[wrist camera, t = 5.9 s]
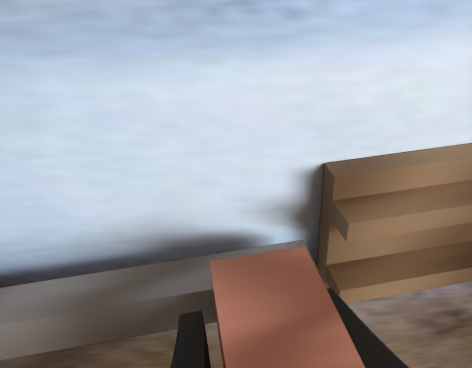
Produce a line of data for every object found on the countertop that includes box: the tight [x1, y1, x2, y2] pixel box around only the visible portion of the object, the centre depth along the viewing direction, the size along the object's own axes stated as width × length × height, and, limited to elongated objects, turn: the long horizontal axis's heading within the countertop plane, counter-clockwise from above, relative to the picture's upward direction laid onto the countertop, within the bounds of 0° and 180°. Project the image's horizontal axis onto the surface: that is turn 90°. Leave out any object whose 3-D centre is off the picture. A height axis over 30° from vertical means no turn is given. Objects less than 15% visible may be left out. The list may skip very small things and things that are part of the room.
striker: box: [0, 240, 365, 368], centre depth 11 cm, size 15×8×8 cm, turn 93°
